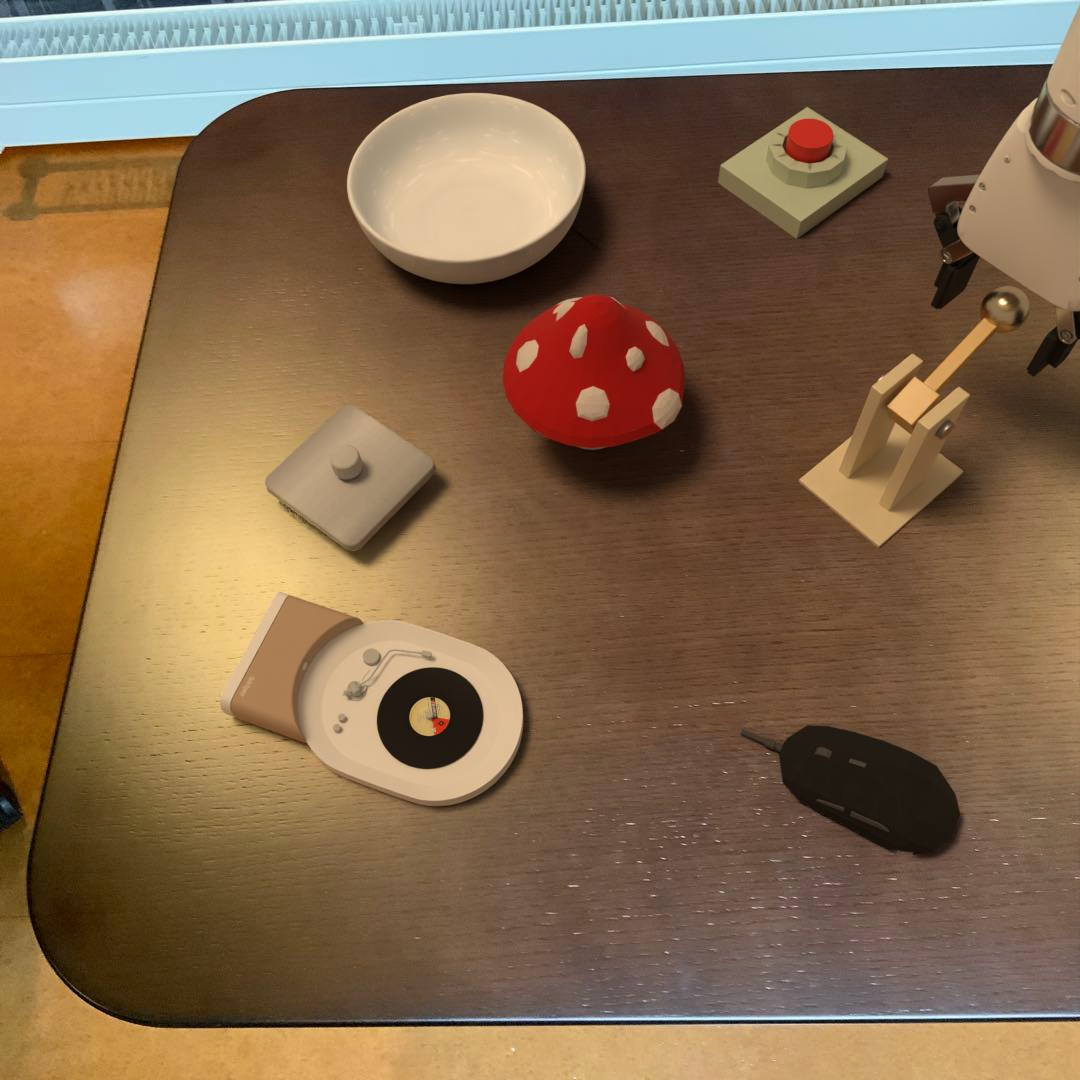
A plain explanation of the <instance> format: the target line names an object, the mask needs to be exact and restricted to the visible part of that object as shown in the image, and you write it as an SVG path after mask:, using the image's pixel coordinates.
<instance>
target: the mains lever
mask: <svg viewBox="0 0 1080 1080" xmlns="http://www.w3.org/2000/svg"><path fill="white" fill-rule="evenodd" d="M1030 302H1031V301H1030V299H1029V297H1028V296H1027V294H1026V293H1025V292H1024V291H1023V290H1022V289H1021V288H1019V287H1016V286H1013V285H1000V286H998V287H995V288H993V289H992V290H990V291H989V292H987V293H986V295H984V297H983V299H982V300H981V303H980V306H979V317H980V321H979V322H978V323H977V324H976V326H974V328H973V329H972V330H971V331H970V332H969V333H968V334H967V335H966V336H965V337H964V339H962V340H961V342H960V343H959V344H958V345H957V346H956V347H955V348H954V349H953V350H952V351H951V352H950V353H949V355H947V356H946V358H944V359H943V360H942V362H941V363H940V364H939V365H938V366H937V367H936V368H935V369H934V370H933V372H932V373H930V374H929V376H928V377H927V378H926V379H925V380H924V381H922V380H921V379H919V378H918V377H917V376H916V377H914V378H913V379H912V380H911V381H910V382H909V383H908V384H907V385H906V386H905V387H904V388H903V389H902V391H901V392H900V393H899V394H898V395H897V396H896V397H895V398H894V399H893V400H892V401H891V402H890V403H889V404H888V405H887V411H888V417H889V418H890V419H891V420H893V421H894V422H895V423H897V424H898V425H899V426H901V427H902V428H903V429H905V430H906V431H907V432H908V433H910V434H911V435H912V433H913V430H914V428H915V426H916V424H917V422H918V421H919V420H920V419H921V418H922V417H923V416H924V415H926V414H927V413H928V412H929V411H930V410H932V409H933V408H934V407H935V406H936V405H937V404H939V403H940V402H941V394H940V392H941V391H942V390H943V389H944V388H946V386H947V385H948V383H950V382H951V380H952V379H954V377H955V376H956V375H957V374H958V373H959V372H960V371H961V370H962V369H963V368H964V367H965V366H966V364H967V363H968V362H969V361H970V360H971V359H972V358H973V357H974V356H975V355H976V354H977V353H978V352H979V351H980V350H981V349H982V348H983V347H984V346H985V344H987V342H988V341H990V339H991V338H992V337H993V336H994V335H995V334H996V333H1000V334H1007V333H1011V332H1013V331H1016V330H1018V329H1020V328H1021V327H1022V326H1023V325H1024V324H1025V322H1027V320H1028V318H1029V315H1030V312H1031V304H1030Z"/></svg>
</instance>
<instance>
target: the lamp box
mask: <svg viewBox="0 0 1080 1080" xmlns="http://www.w3.org/2000/svg"><path fill="white" fill-rule="evenodd" d="M807 118H811V119H817V120H821V121H823V122H825V123H826V124H828V125H829V126H830V127H831V129H832V130H833V140H832V144H831V148H830V152H829V155H828V156H827V157H826V158H825V159H824V160H822V161H820V162H817V163H811V164H809V163H804V162H799V161H796V160H794V159H793V158H791V157H790V156H789V155H788V154H787V152H786V148H785V147H786V141H787V137H788V132H789V128H790V127H791V125H792V124H793V123H794V122H796V121H798V120H801V119H807ZM888 161H889V158H888V157H887V156H885V155H883V154H882V153H880V152H878V151H877V150H875V149H874V148H872V147H871V146H869V145H867V144H866V143H864V142H863V141H861V140H860V139H858V137H855V136H853V134H850V132H847V131H845V130H844V129H843V128H841V127H840V126H838V125H837V124H835V123H833V122H832V121H830V120H829V119H827V118H825V117H824V116H822V115H821V114H819V113H818V112H816V111H814V110H813V109H811V108H810V107H808V106H807V107H804V108H803V109H802V110H800V111H799V112H797V113H795V115H793V116H792V117H790V118H788V119H787V120H785V121H784V122H783V123H781V124H780V125H778V126H777V127H775V128H774V129H772V130H771V131H769V132H768V133H766V134H764V135H763V136H762V137H760V138H758V139H757V140H755V141H754V142H752V144H749V145H748V146H746V147H745V148H744V149H742V150H741V151H739V152H738V153H736V154H735V155H733V156H732V157H730V158H729V159H727V160H726V161H724V162H723V163H721V164H720V165H719V173H718V179H717V184H719V185H720V186H721V187H723V188H724V189H725V190H727V191H728V192H730V193H731V194H732V195H734V196H736V197H737V198H738V199H740V200H741V201H742V202H744V203H745V204H747V205H748V206H749V207H751V208H752V209H754V210H755V211H756V212H758V213H759V214H760V215H762V216H763V217H765V218H766V219H768V220H769V221H770V222H772V223H774V224H775V225H776V226H778V227H779V228H780V229H782V230H783V231H785V232H786V233H787V234H789V235H790V236H792V237H793V238H795V239H796V240H797V239H799V238H801V236H804V235H805V234H806V233H807V232H809V231H811V230H812V229H813V228H814V227H816V226H818V224H820V223H821V222H822V221H824V220H826V218H828V217H830V216H831V215H832V214H833V213H835V212H836V211H838V210H839V209H841V208H842V207H843V206H845V205H846V204H848V203H849V202H850V201H852V200H853V199H855V198H856V197H857V196H859V195H860V194H861V193H862V192H864V191H865V190H867V189H868V188H870V187H871V186H873V185H874V184H875V183H876V182H878V181H879V180H880V179H882V178H883V177H884V174H885V170H886V168H887V164H888Z"/></svg>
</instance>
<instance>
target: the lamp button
mask: <svg viewBox="0 0 1080 1080" xmlns="http://www.w3.org/2000/svg"><path fill="white" fill-rule="evenodd" d="M832 140H833V130H832V129H831V127H830V126H829V125H828V124H826V123H825V122H823V121H821V120H817V119H811V118H807V119H801V120H798V121H796V122H794V123H793V124H792V125H791V127H790V128H789V132H788V137H787V141H786V147H785V148H786V152H787V154H788V155H789V156H790V157H791V158H793V159H794V160H796V161H799V162H804V163H809V164H811V163H817V162H820V161H822V160H824V159H825V158H826V157H827V156H828V155H829V152H830V148H831V144H832Z"/></svg>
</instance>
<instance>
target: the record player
mask: <svg viewBox="0 0 1080 1080" xmlns="http://www.w3.org/2000/svg"><path fill="white" fill-rule="evenodd" d="M521 696H522V695H521V693H520V690H519V687H518V685H517V681H515V678H514V677H513V675H512V673H511V672H510V670H509V669H508V668H507V666H505V664H504V663H503V662H502V661H501V660H500V659H499V658H497V656H495V655H494V654H493V653H492V652H490V651H488V650H487V649H485V648H483V647H480V646H478V645H475V644H473V643H470V642H468V641H465V640H462V639H459V638H456V637H453V636H451V635H448V634H445V633H442V632H439V631H435V630H433V629H429V628H427V627H423V626H420V625H417V624H413V623H410V622H406V621H402V620H397V619H382V620H381V619H380V620H372V621H368V622H363V621H362V620H361V619H360V618H358V617H356V616H353V615H350V614H348V613H345V612H341V611H338V610H336V609H333V608H330V607H327V606H324V605H320V604H317V603H315V602H311V601H309V600H306V599H303V598H300V597H297V596H294V595H291V594H289V593H285V592H282V591H278V592H277V593H276V594H275V595H274V597H273V599H272V600H271V602H270V605H269V606H268V608H267V610H266V612H265V613H264V615H263V617H262V619H261V621H260V622H259V624H258V626H257V628H256V629H255V632H254V634H253V636H252V637H251V640H250V641H249V643H248V645H247V647H246V649H245V650H244V652H243V654H242V656H241V658H240V659H239V661H238V664H237V665H236V667H235V669H234V670H233V672H232V674H231V676H230V678H229V680H228V682H227V684H226V686H225V687H224V689H223V691H222V693H221V694H220V698H219V706H220V709H221V711H222V712H223V714H225V715H228V716H230V717H233V718H236V719H238V720H241V721H244V722H247V723H249V724H251V725H255V726H258V727H260V728H263V729H266V730H268V731H271V732H274V733H277V734H280V735H283V736H285V737H288V738H290V739H293V740H296V741H299V742H301V743H304V744H307V745H308V747H309V748H310V750H311V751H312V753H313V754H314V756H315V757H316V758H317V760H318V761H319V762H320V763H321V764H322V765H324V767H326V768H327V769H328V770H329V771H331V772H333V773H335V774H336V775H338V776H341V777H343V778H344V779H347V780H350V781H352V782H355V783H357V784H359V785H362V786H365V787H368V788H370V789H373V790H376V791H379V792H381V793H384V794H388V795H390V796H392V797H395V798H398V799H401V800H403V801H407V802H410V803H414V804H417V805H421V806H426V807H444V806H445V807H446V806H452V805H457V804H460V803H463V802H466V801H469V800H472V799H474V798H475V797H477V796H479V795H480V794H482V793H484V792H486V791H487V790H489V788H491V787H492V786H493V785H495V784H497V782H498V781H499V780H500V779H501V778H502V777H503V775H504V774H505V773H506V772H507V770H508V769H509V768H510V766H511V765H512V763H513V761H514V760H515V758H516V756H517V753H518V751H519V748H520V745H521V741H522V737H523V730H524V711H523V702H522V701H523V700H522V697H521Z"/></svg>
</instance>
